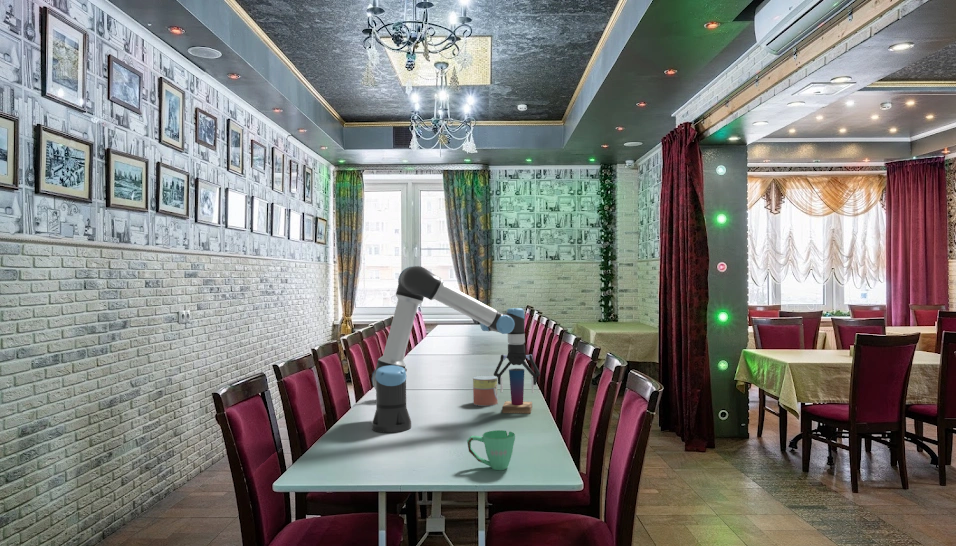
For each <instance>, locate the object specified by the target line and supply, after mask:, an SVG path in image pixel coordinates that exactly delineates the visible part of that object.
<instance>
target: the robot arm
mask: <svg viewBox="0 0 956 546" xmlns="http://www.w3.org/2000/svg"><path fill="white" fill-rule="evenodd" d="M397 279H398V280H397V282H398V285H397V288H396V293H395V296H396V298H397V303H396V306H395V309H394V314H393V318H392V321H391V324H390V328H389V333H388V336H387V339H386V343H385V347H384V351H383V354H382V356H381V357H379V358H378V359H377V363H376V366H375V369H374V370H373V372H372V375H371V383H372V386H373V388H374V389H375V394H376V395H375V398H376V401H375V404H376V407H375V412H374V415H373V419H372V421H371V422H372V423H371V428H372V430H373V432H378V433H387V434H388V433H389V434H390V433H400V432H404V431H408V430H411V428H412V419H411V417H410V413H409V410H408V407H407V373H406V372H407V371H405V368H406V364H405V361H404V359H405V354H406V351H407V348H408V344H409V340H410V337H411V333H412V328H413V325H414V321H415V319H416V315H417V311H418V306H420V304H422V303H423V301H424V298H426V299H428V300H429V301H432V300H433V301H435V300H436V301H437V302H439V303H441V304H443V305H445V306H447V307H449V308H451V309H454V310H455V311H456V312H459V313H461V314H462V315H465V316H467V317H469V318H471V319H473V320H474V321H477V323H480V324H479V325H480V329H481V331H483V332H496V333H500V334H502V335H507V354H503V353H502V354H501V355H500V360H499V362H498V364H497V366H496V369H495V370H494V372H493V376H496V377H497V386H500V390H499V391H500V393H503V392H504V385H503V384H504V377H503V376H502V375H504V373H505V372H506V371H507V369H508V368H509V367H510V365H513V366H522V367H524V368H525V370H526V371H528V373H529V374H530V375H531V376H532V377H531V393H532V394H534V393H535V389H534V388H535V386H536V385H537V378H538V377H540V376H541V373H540V372H541V371H540V369H539V368H538V367H537V364H536V363H535V360H534V358H533V354H526V345H525V343H526V337H525V335H526V333H525V332H526V331H525V328H526V327H525V323H526V322H525V320H526V319H525V310H524V308H522V307H512V308H510V307H509V308H507V310H506V312H504V313H502V312H500V311H498V310H497V309H495V308H493V307H491V306H489V305H487V304H486V303H483V302H481V301H480V300H478V299H476V298H474V297H472V296H470V295H469V294H466V293H465V292H463V291H461V290H458V289H457V288H455V287H452V286H451V285H449V284H447V283H445V281H443V278H441V277H439V276H438V275H436V274H434V273H433V272H431V271H430V270H429V269H427V268H425V267H423V266H419V265H413V266H408V267H406V268H404V269H403V270H402V271H401V272H400V274H399V276H398V278H397ZM506 359H507V360H508V362H507V364H506V365H504V367H503V369H502V370H501V371H500V372H499V370H500V369H501V366H502V364H503V362H504V361H505V360H506ZM526 359H527V360H528V361H529V363H530V364H531V366H532V368H533V369H532V368H531V367H530V366H529V365H528V364H527V362H526V361H525V360H526ZM533 370H534V371H535V372H534V371H533Z"/></svg>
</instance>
